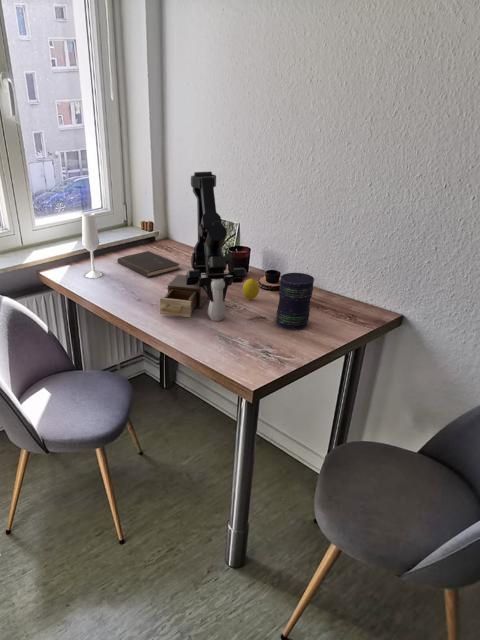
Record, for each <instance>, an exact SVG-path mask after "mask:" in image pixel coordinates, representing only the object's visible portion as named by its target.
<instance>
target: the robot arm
mask: <svg viewBox="0 0 480 640" xmlns="http://www.w3.org/2000/svg"><path fill="white" fill-rule="evenodd" d="M190 187H191V188H192V193H193V195H194V196H195V198H196V207H197V209H196V211H197V241H196V243H195V245H194V247H193V252H192V255H191V259H190V265H191V269H189V270H188V271H187V272H186V274H185V275H186V285H196V284H197V283H198V280H199V282H200V283H199V287H202V288H203V289H204V290H205V292H206V293H207V295H208V298H209V301H210V300H211V302H213V295H212V290H213V289H212V287H211V282H212V281H213V280H215V279H221V280H223V281H224V282H225V287H224V288H223V301H224V302H225V300H226V295H227V293H228V292H227V291H228V287H229V286H232V284H242V283H245V281H246V277H247V269H245V267H233V268H232V270H231V271H230V272H229V271H228V272H226V270H227V265H232V264H233V255H232V253H225V254H223V246H224V244H225V242H226V241H225V240H226V239H227V238H226V237H227V234H228V229H227V228H226V227H225V225H224V223H223V222H222V217H221V215H220V214H219V213H218V212H217V207H216V198H215V189H214V188H216V187H217V175H216V174H213V172H212V171H194V173H193V175H191V176H190Z"/></svg>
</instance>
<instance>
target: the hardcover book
mask: <svg viewBox="0 0 480 640" xmlns="http://www.w3.org/2000/svg"><path fill="white" fill-rule="evenodd" d="M117 264H119V265H121V266H124V267H126V268H127V269H130V270H132V271H134V272H135V273H138V274H140V275H142V276H143V277H146V278H153V277H156V276H160V275H163V274H167V273H171V272H175V271H178V270H180V268H179V266H180V263H178V262H176V261H173V260H171V259H168V258H166V257H165V256H162V255H159V254H157V253H154V252H153V251H149V250H146V251H142V252H137V253H134V254H129V255H125V256H121V257H118V258H117Z"/></svg>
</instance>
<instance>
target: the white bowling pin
mask: <svg viewBox="0 0 480 640" xmlns="http://www.w3.org/2000/svg"><path fill="white" fill-rule="evenodd" d="M212 280H213V281H212V282H211V290H212V295H213V302H211V300H210V299H209V304H208V308H207V315H208V317H209V319H210V320H211V321H212V322H220V321H223V320H224V317H225V316H226V313H227V310H226V304H225V300H224V301H223V288H224V287H225V282H224V281H223V279H212Z"/></svg>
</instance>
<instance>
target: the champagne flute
mask: <svg viewBox="0 0 480 640" xmlns="http://www.w3.org/2000/svg"><path fill="white" fill-rule="evenodd" d="M81 221H82V222H81V239H82V243H81V244H82V247H84V249H86V250H87V251H89V253H90V265H91V271H89V272H87V274H85V277H86V278H89V279H96V278H97V279H98V278H100V277H102V276H103V273H101V272H100V271H97V270H96V268H95V256H94V252H95V251H96V250H97V248H98V247H99V245H100V238H99V232H98V227H97V226H98V225H97V221H96V215H95V213H92V212H86V213H82V214H81Z"/></svg>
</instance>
